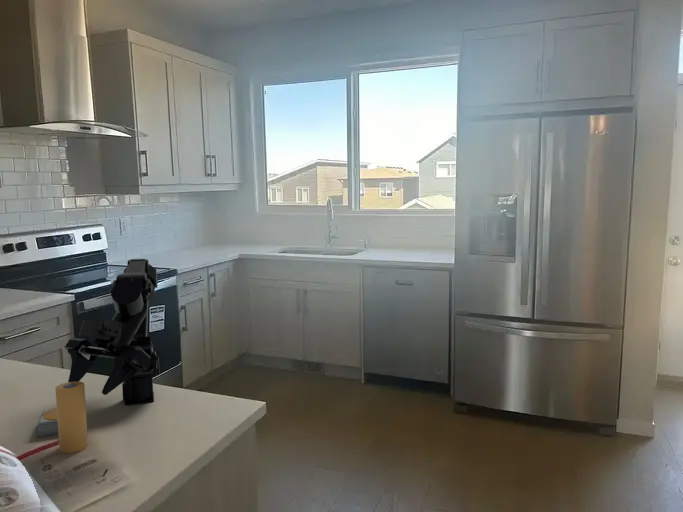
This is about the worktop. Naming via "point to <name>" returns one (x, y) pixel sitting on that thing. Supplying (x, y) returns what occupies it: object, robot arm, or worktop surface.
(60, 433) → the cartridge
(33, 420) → the worktop surface
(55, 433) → the unit
